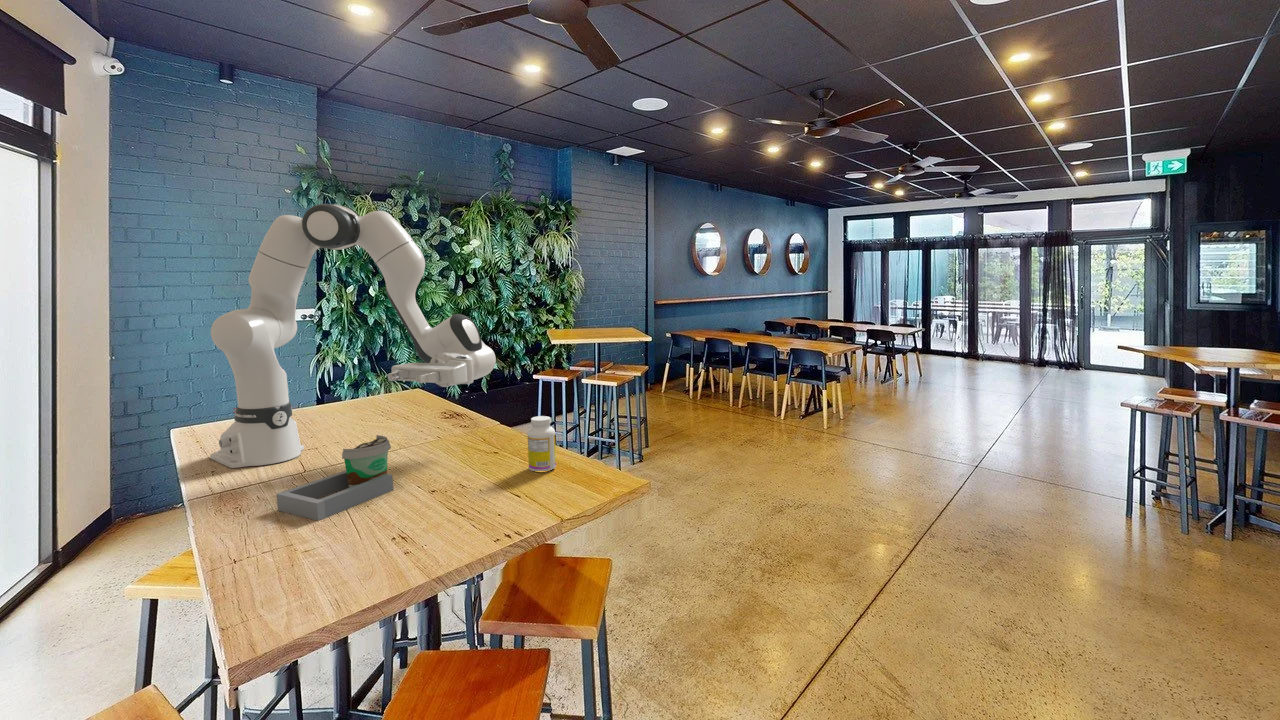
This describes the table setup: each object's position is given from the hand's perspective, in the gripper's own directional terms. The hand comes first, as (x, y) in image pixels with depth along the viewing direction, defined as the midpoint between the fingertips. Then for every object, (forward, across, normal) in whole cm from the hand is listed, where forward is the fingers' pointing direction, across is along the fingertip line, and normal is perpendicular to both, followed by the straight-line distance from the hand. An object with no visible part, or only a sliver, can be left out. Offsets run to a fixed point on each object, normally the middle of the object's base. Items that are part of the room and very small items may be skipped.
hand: (404, 378), depth 136 cm
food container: (+10, 0, +23) cm, 25 cm away
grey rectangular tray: (+19, 0, +23) cm, 30 cm away
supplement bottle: (-15, +27, +24) cm, 39 cm away
